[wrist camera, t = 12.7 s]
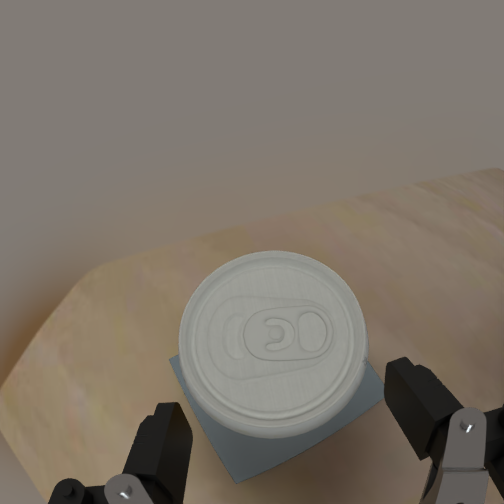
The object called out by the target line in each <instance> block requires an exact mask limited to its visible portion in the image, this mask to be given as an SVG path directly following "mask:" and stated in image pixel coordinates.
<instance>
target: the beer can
mask: <svg viewBox="0 0 504 504" xmlns="http://www.w3.org/2000/svg"><path fill="white" fill-rule="evenodd" d="M368 350H369V342H368V332H367V328H366V323H365V320H364V317H363V313H362V311H361V308H360V305H359V303H358V301H357V299H356V297H355V295H354V293H353V292H352V290H351V289H350V287H349V286H348V285H347V284H346V283H345V281H344V280H343V279H342V278H341V277H340V276H339V275H338V274H337V273H335V272H334V271H333V270H332V269H330V268H329V267H327V266H326V265H324V264H323V263H321V262H319V261H317V260H315V259H313V258H310V257H307V256H305V255H302V254H297V253H293V252H286V251H262V252H256V253H251V254H247V255H244V256H241V257H238V258H236V259H233V260H231V261H229V262H227V263H225V264H224V265H222V266H221V267H219V268H218V269H216V270H215V271H214V272H212V273H211V274H210V275H209V276H208V277H207V278H206V279H205V280H204V281H203V282H202V283H201V284H200V285H199V286H198V287H197V289H196V290H195V292H194V293H193V295H192V296H191V298H190V300H189V302H188V303H187V305H186V308H185V310H184V313H183V316H182V320H181V324H180V330H179V363H180V368H181V372H182V376H183V379H184V381H185V384H186V386H187V388H188V390H189V392H190V394H191V395H192V397H193V398H194V400H195V401H196V402H197V404H198V405H199V406H200V407H201V408H202V409H203V410H204V412H205V413H207V414H208V415H209V416H210V417H211V418H213V419H214V420H215V421H217V422H218V423H220V424H221V425H223V426H224V427H227V428H229V429H231V430H233V431H235V432H238V433H241V434H244V435H247V436H252V437H257V438H268V439H274V438H286V437H292V436H296V435H300V434H303V433H306V432H309V431H311V430H313V429H316V428H318V427H319V426H321V425H323V424H324V423H326V422H328V421H329V420H330V419H332V418H333V417H334V416H336V415H337V414H338V413H339V412H340V411H341V410H342V409H343V408H344V407H345V406H346V405H347V404H348V402H349V401H350V400H351V398H352V397H353V396H354V394H355V392H356V391H357V389H358V387H359V385H360V383H361V381H362V378H363V376H364V373H365V369H366V366H367V360H368Z"/></svg>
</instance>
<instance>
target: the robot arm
mask: <svg viewBox="0 0 504 504" xmlns="http://www.w3.org/2000/svg"><path fill="white" fill-rule="evenodd" d="M384 398H385V401H386V404H387V406H388V407H389V409H390V411H391V412H392V414H393V416H394V417H395V419H396V421H397V422H398V424H399V426H400V427H401V429H402V431H403V432H404V434H405V436H406V437H407V439H408V441H409V442H410V444H411V446H412V448H413V449H414V451H415V453H416V454H417V456H418V458H419V460H420V461H421V460H423V459H425V458H427V457H429V456H430V458H431V459H432V463H431V466H430V470H429V474H428V477H427V480H426V484H425V487H424V490H423V493H422V496H421V499H420V502H419V504H484V501H485V496H486V490H487V484H488V476H489V475H490V477H491V478H492V480H493V482H494V484H495V485H496V487H497V489H498V491H499V492H500V494H501V496H502V498H503V499H504V404H503V406H502V407H501V408H498V409H495V410H492V411H488V412H485V413H483V412H481V411H480V410H478V409H476V408H470V407H469V408H464V407H463V406H462V405H461V404H460V402H459V401H458V400H457V399H456V398H455V397H454V396H453V395H452V393H451V392H450V391H449V390H448V389H447V388H446V387H445V386H444V385H443V384H442V382H441V381H440V380H439V379H437V377H436V376H435V375H434V374H433V372H432V371H431V370H430V369H428V368H426V367H424V366H422V365H420V364H419V365H416V366H414V365H413V364H412V363H411V361H410V360H409V359H408V358H407V357H402V358H399V359H397V360H394V361H391V362H388V363H387V365H386V374H385V384H384ZM192 442H193V435H192V430H191V427H190V425H189V423H188V421H187V419H186V417H185V415H184V413H183V410H182V408H181V406H180V404H179V403H178V402H170V403H158V405H157V407H156V410H155V413H154V415H148V416H147V417H146V418H145V419H144V420H143V422H142V423H141V424H140V426H139V428H138V431H137V436H135V439H134V444H132V447H131V450H130V453H129V455H128V458H127V461H126V464H125V467H124V469H123V472H122V474H119V475H116V476H114V477H112V478H111V479H110V480H108V482H107V483H106V485H102V486H91V487H85V486H84V485H83V484H82V483H81V482H79V481H78V480H76V479H72V478H68V479H64V480H62V481H60V482H59V483H58V484H57V485H56V486H55V488H54V490H53V492H52V495H51V497H50V500H49V502H48V504H183V499H184V492H185V486H186V479H187V473H188V467H189V460H190V454H191V448H192ZM484 467H485V468H486V469H484Z"/></svg>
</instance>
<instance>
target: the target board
mask: <svg viewBox="0 0 504 504" xmlns="http://www.w3.org/2000/svg"><path fill="white" fill-rule="evenodd" d="M169 361H170V363H171V365H172V368H173V370H174V372H175V374H176V376H177V378H178V381H179V383H180V385H181V387H182V389H183V391H184V393H185V395H186V397H187V399H188V401H189V403H190V405H191V407H192V409H193V411H194V413H195V415H196V417H197V419H198V421H199V422H200V424H201V426H202V428H203V430H204V432H205V433H206V435H207V437H208V439H209V441H210V442H211V444H212V446H213V447H214V449H215V451H216V453H217V454H218V456H219V458H220V459H221V461H222V463H223V464H224V466H225V467H226V469H227V471H228V472H229V474H230V475H231V477H232V479H233V480H234V482H235V483H236V484H237V483H239V482H242V481H244V480H247V479H249V478H251V477H254V476H256V475H258V474H260V473H262V472H265V471H267V470H269V469H271V468H273V467H275V466H277V465H279V464H281V463H283V462H285V461H287V460H289V459H291V458H293V457H294V456H296V455H298V454H300V453H302V452H304V451H305V450H307V449H309V448H311V447H312V446H314V445H316V444H317V443H319V442H321V441H322V440H324V439H326V438H327V437H329V436H330V435H332V434H334V433H335V432H337V431H338V430H340V429H341V428H343V427H344V426H346V425H347V424H349V423H350V422H352V421H353V420H355V419H356V418H357V417H359V416H360V415H362V414H363V413H364V412H366V411H367V410H368V409H370V408H371V407H372V406H374V405H375V404H376V403H378V402H379V401H380V400H382V399H383V398H384V384H383V382H382V381H381V379H380V378H379V377H378V375H377V374H376V372H375V371H374V369H373V368H372V366H371V365H370V363H369V362H368V361H367V366H366V369H365V373H364V376H363V378H362V381H361V383H360V385H359V387H358V389H357V391H356V392H355V394H354V396H353V397H352V398H351V400H350V401H349V402H348V404H347V405H346V406H345V407H344V408H343V409H342V410H341V411H340V412H339V413H338V414H337V415H336V416H334V417H333V418H332V419H330V420H329V421H328V422H326V423H324V424H323V425H321V426H319V427H318V428H316V429H313V430H311V431H309V432H306V433H303V434H300V435H296V436H292V437H286V438H274V439H268V438H257V437H252V436H247V435H244V434H241V433H238V432H235V431H233V430H231V429H229V428H227V427H224V426H223V425H221V424H220V423H218V422H217V421H215V420H214V419H213V418H211V417H210V416H209V415H208V414H207V413H205V412H204V410H203V409H202V408H201V407H200V406H199V405H198V404H197V402H196V401H195V400H194V398H193V397H192V395H191V394H190V392H189V390H188V388H187V386H186V384H185V381H184V379H183V376H182V372H181V368H180V363H179V354H178V355H176V356H174V357H172V358H170V359H169Z"/></svg>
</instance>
